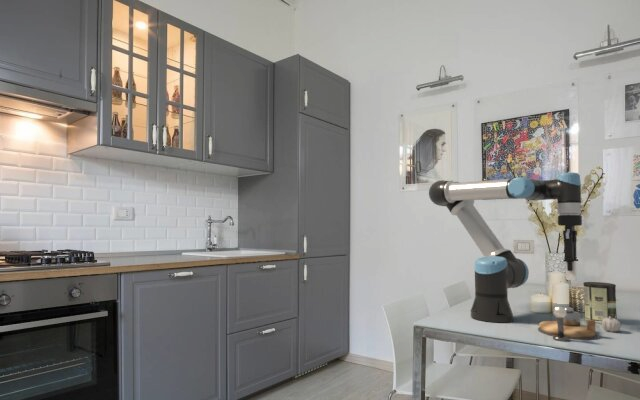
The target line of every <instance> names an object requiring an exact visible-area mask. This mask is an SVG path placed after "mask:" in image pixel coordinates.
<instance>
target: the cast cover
mask: <svg viewBox="0 0 640 400" xmlns="http://www.w3.org/2000/svg"><path fill="white" fill-rule="evenodd" d="M563 308H564V309H565V310H566V312H567V314H566V316H565V317H564V318H563V324H564V325H565V326H574V327H576V326H581V324H582V323H581V313H580V312H578V311H574V308H573V307H570V306H563ZM556 321H557V323H558V318H557V317H556Z"/></svg>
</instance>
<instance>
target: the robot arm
mask: <svg viewBox="0 0 640 400" xmlns="http://www.w3.org/2000/svg"><path fill="white" fill-rule="evenodd" d="M428 196H429V199H430V201H431V202H432V203H433V204H435V205H436V206H439V207H446V209H448V211H449V213H450V214H451V215H453V216H456V217H457V218H458V220H459V222H460V223H461V224H462V225H463V227H464V229H465V230H466V231H467V233H468V235H469V236H470V237H471V239H472V241H473V242H474V243H475V245H476V246H477V247H478V249H479V251H480V252H481V254H482V255H483V256H481V257H478V258H476V260H475V261H474V267H473V268H474V300H473V303H472V306H471V309H470V318H471V319H474V320H478V321H482V322H483V321H484V322H490V323H509V322H513V321H514V313H513V311H512V308H511V305H510V302H509V298H508V289H514V288H515V289H516V288H518V287H521V286H523V285H524V284H526V282H527V280H528V278H529V273H530V270H529V268H528V265H527V264H526V263H525V261H524V260H522V259H520V258H517V257H516V256H515V254H514V253H513V251H512V250H511V249H508V248H505V247H504V245H503V244H502V243H501V241H500V240H499V239H498V238H497V236H496V234H495V233H494V232H493V230H492V229H491V228H490V226H489V225H488V224H487V222H486V221H485V219H484V218H483V216H481V213H480V212H479V211H478V209H476V207H475V206H474V205H475V201H479V200H480V201H481V200H484V201H485V200H506V199H507V200H510V199H512V200H513V199H514V200H515V199H516V200H518V199H525V200H527V201H545V200H547V201H548V200H557V203H556V209H557V214H558V215H557V225H558V226H561V227H562V226H563V227H564V230H563V231H562V236H563V249H564V259H563V261H562V262H565V280H568V281H575V280H577V262H579V259H578V257H577V236H578V231H577V230H576V227H577V226H582V224H583V220H582V219H583V218H582V216H581V214H582V209H583V208H584V206H583V205H582V184H581V175H580V174H579V173H578V172H562V173H561V172H560V173H557V175H556V178H555V179H547V180H545V179H544V180H543V179H542V180H539V179H533V178H529V177H524V176H522V177H521V176H519V177H515V178H507V179H506V178H505V179H491V180H490V179H489V180H478V181H477V180H476V181H465V182H464V181H462V182H461V181H460V182H459V181H453V180H443V179H442V180H436V181H435V182H434V183H432V184H431V185H430V188H429V189H428Z"/></svg>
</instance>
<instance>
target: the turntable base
mask: <svg viewBox="0 0 640 400" xmlns="http://www.w3.org/2000/svg"><path fill="white" fill-rule="evenodd" d="M537 331H538V332H539V333H542V334H544V335H547V336H550V337H553V334H549V333H546V332H543V331H541V330H540V326H539V327H538V328H537ZM597 338H598V335H597V333H595V336H594V337H591V338H572V337H569V340H579V341H581V340H584V341H585V340H587V341H588V340H589V341H590V340H595V339H597Z"/></svg>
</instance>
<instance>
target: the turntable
mask: <svg viewBox="0 0 640 400" xmlns="http://www.w3.org/2000/svg"><path fill="white" fill-rule="evenodd" d="M539 327H540V330H541V331H543V332H546V333H549V334H553V335H558V323H557V320H545V321H544V320H543V321H541V322H539ZM595 334H596V322H595V320H586V324H583V323H581V326H576V327H574V326H565V325H564V336H566V337H572V338H591V337H594V336H595Z"/></svg>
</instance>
